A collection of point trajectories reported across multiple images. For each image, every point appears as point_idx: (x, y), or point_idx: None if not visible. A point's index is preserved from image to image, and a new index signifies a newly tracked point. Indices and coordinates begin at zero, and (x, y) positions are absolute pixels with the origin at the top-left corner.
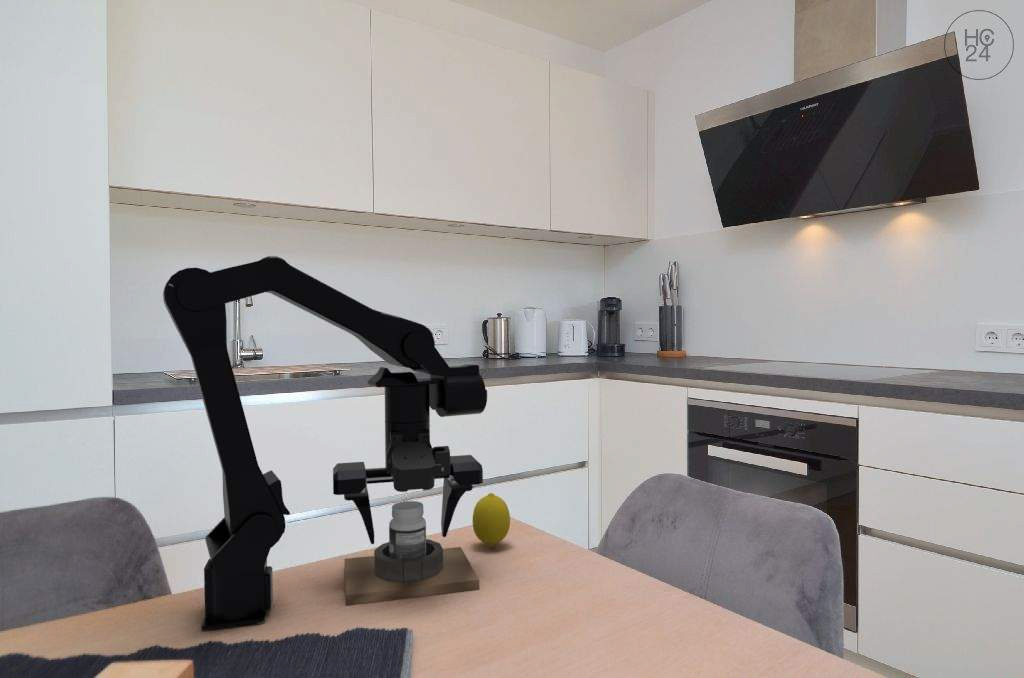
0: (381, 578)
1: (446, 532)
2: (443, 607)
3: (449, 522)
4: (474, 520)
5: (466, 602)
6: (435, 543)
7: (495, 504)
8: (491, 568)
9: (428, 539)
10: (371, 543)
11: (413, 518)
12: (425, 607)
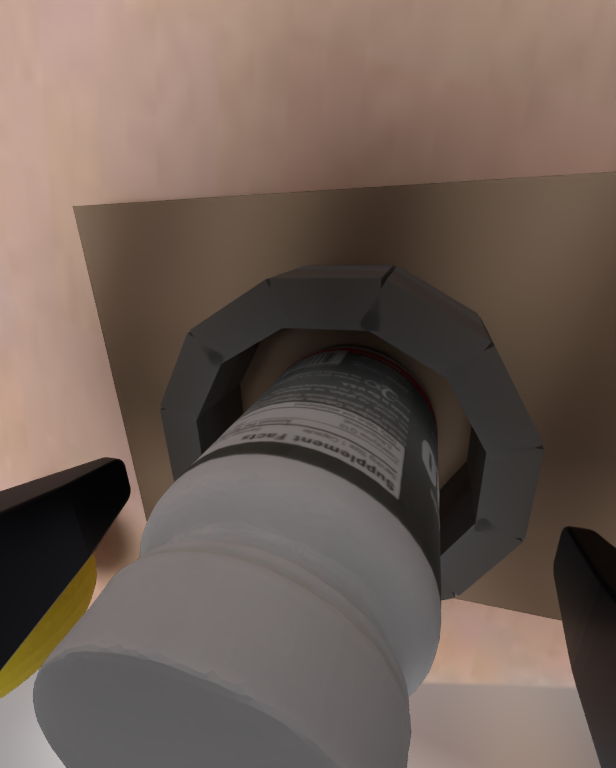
0: (497, 350)
1: (84, 466)
2: (240, 34)
3: (6, 492)
4: (45, 616)
5: (146, 77)
6: None
7: None
8: (76, 382)
9: None
10: (590, 530)
11: (189, 549)
12: (321, 51)
